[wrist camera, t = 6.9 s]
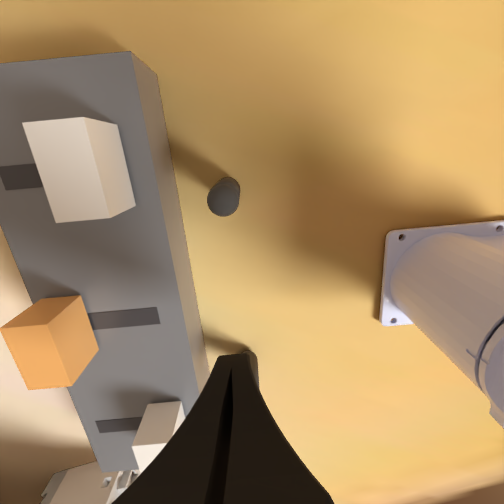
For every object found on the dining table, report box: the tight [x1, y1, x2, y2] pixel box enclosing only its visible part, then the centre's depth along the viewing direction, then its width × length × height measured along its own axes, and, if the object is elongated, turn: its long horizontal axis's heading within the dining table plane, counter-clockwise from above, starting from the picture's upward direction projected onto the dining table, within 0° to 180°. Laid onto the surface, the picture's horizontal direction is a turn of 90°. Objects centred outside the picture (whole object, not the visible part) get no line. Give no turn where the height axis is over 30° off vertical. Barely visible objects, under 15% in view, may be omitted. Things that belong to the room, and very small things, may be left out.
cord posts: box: [207, 177, 259, 388], centre depth 18 cm, size 2×16×6 cm, turn 5°
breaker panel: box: [0, 51, 210, 473], centre depth 19 cm, size 9×28×4 cm, turn 5°
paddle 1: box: [22, 117, 136, 223], centre depth 13 cm, size 2×4×3 cm, turn 5°
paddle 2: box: [132, 401, 185, 473], centre depth 19 cm, size 2×4×3 cm, turn 5°
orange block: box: [0, 295, 99, 390], centre depth 16 cm, size 2×4×3 cm, turn 5°
